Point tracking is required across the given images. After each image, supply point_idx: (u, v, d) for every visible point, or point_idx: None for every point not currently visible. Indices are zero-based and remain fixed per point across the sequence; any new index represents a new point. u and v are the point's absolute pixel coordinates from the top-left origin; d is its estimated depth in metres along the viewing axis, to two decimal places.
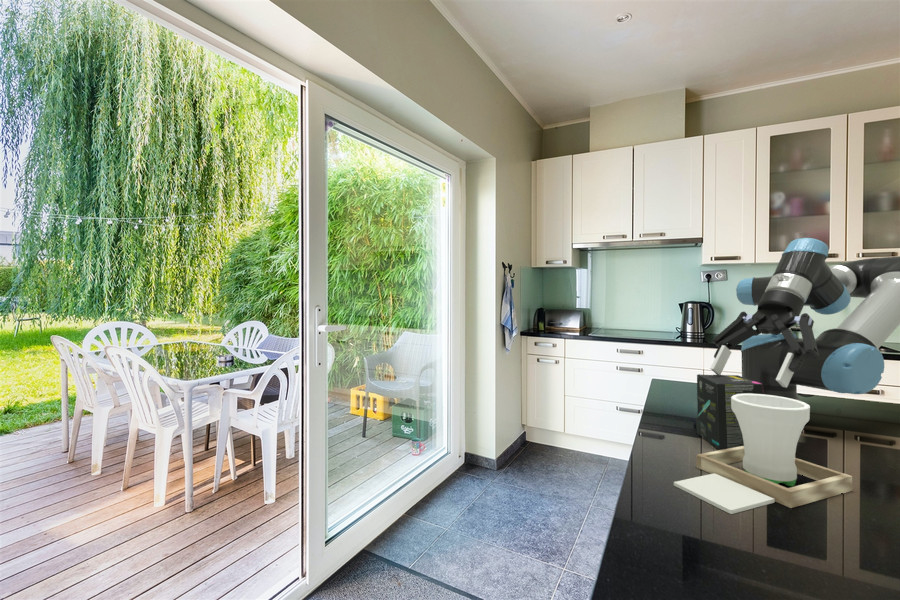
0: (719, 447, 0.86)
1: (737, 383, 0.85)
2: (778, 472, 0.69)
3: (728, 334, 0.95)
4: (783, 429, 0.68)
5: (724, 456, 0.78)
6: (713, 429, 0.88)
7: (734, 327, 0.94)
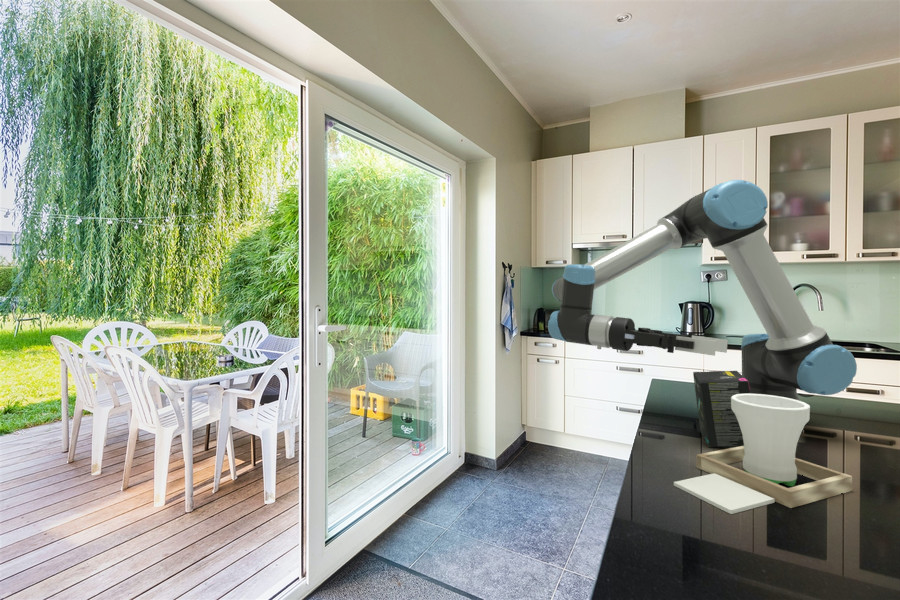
0: (709, 444, 0.87)
1: (721, 381, 0.86)
2: (778, 472, 0.69)
3: None
4: (783, 429, 0.68)
5: (724, 456, 0.78)
6: (704, 427, 0.89)
7: None
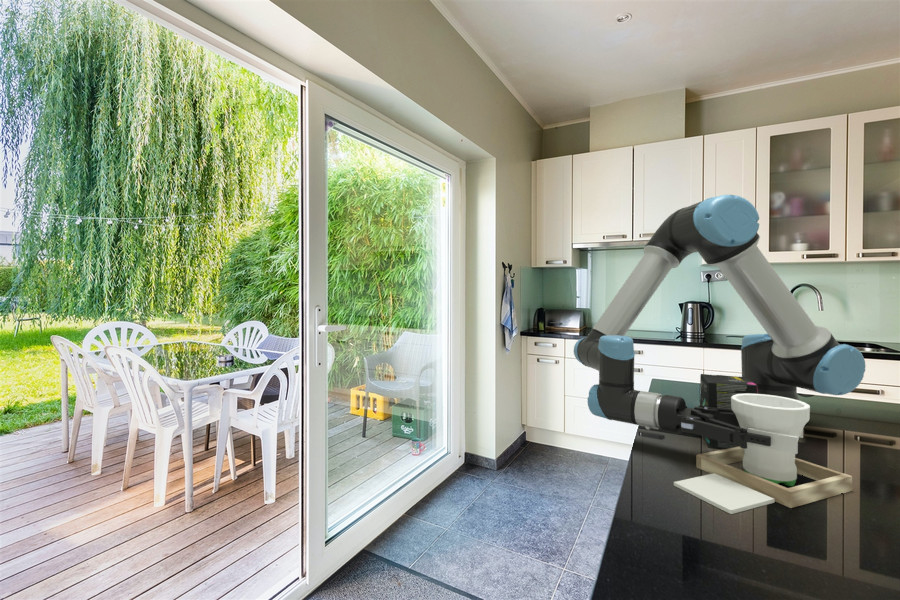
0: (709, 445, 0.87)
1: (730, 383, 0.86)
2: (778, 472, 0.69)
3: None
4: (783, 429, 0.68)
5: (724, 456, 0.78)
6: None
7: None
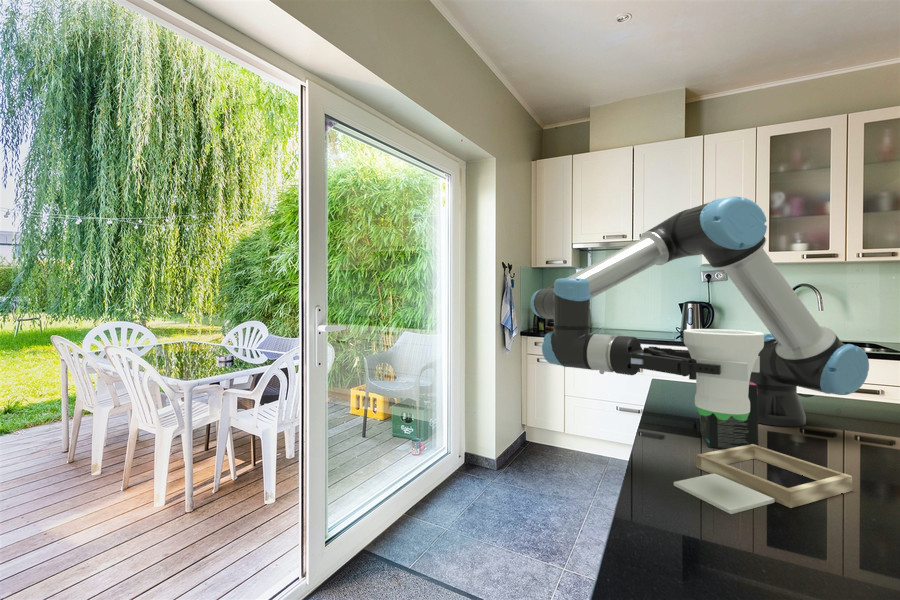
0: (709, 445, 0.87)
1: None
2: (729, 404, 0.64)
3: None
4: (734, 357, 0.63)
5: (724, 456, 0.78)
6: (706, 428, 0.89)
7: None
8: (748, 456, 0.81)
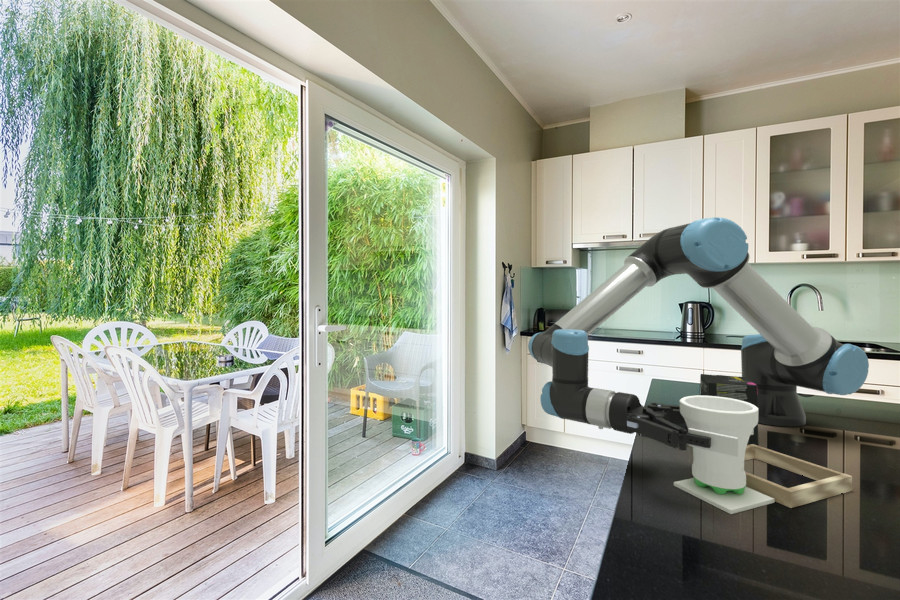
0: None
1: (730, 383, 0.86)
2: (725, 479, 0.65)
3: None
4: (730, 434, 0.64)
5: None
6: None
7: None
8: (748, 456, 0.81)
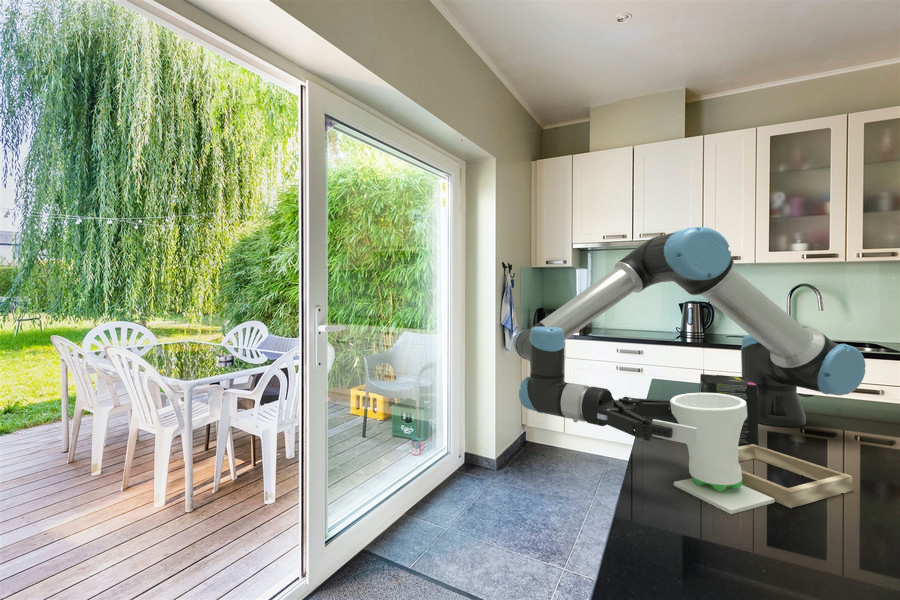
0: None
1: (730, 383, 0.86)
2: (724, 475, 0.65)
3: None
4: (724, 430, 0.64)
5: None
6: None
7: None
8: (748, 456, 0.81)
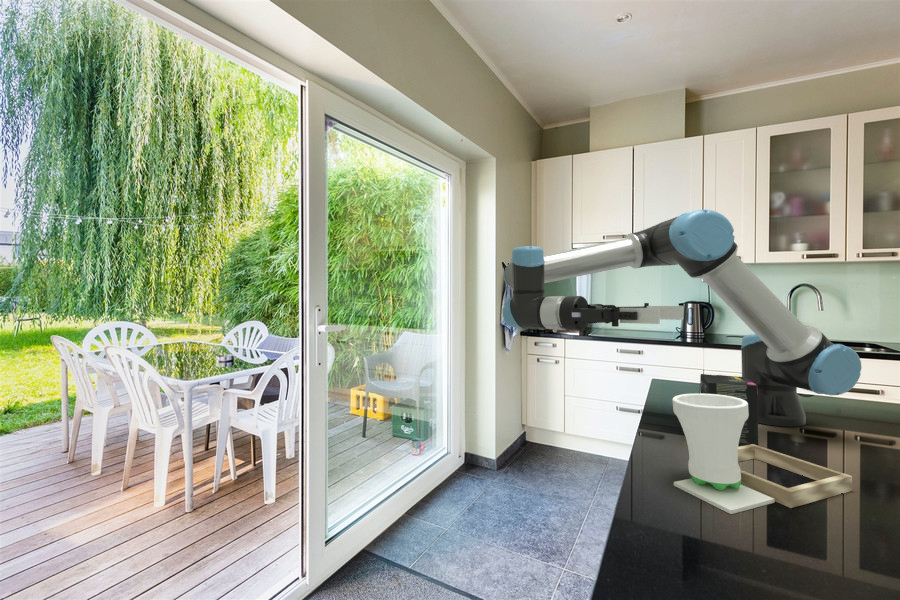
0: None
1: (730, 383, 0.86)
2: (725, 474, 0.66)
3: None
4: (727, 429, 0.65)
5: None
6: None
7: None
8: (748, 456, 0.81)
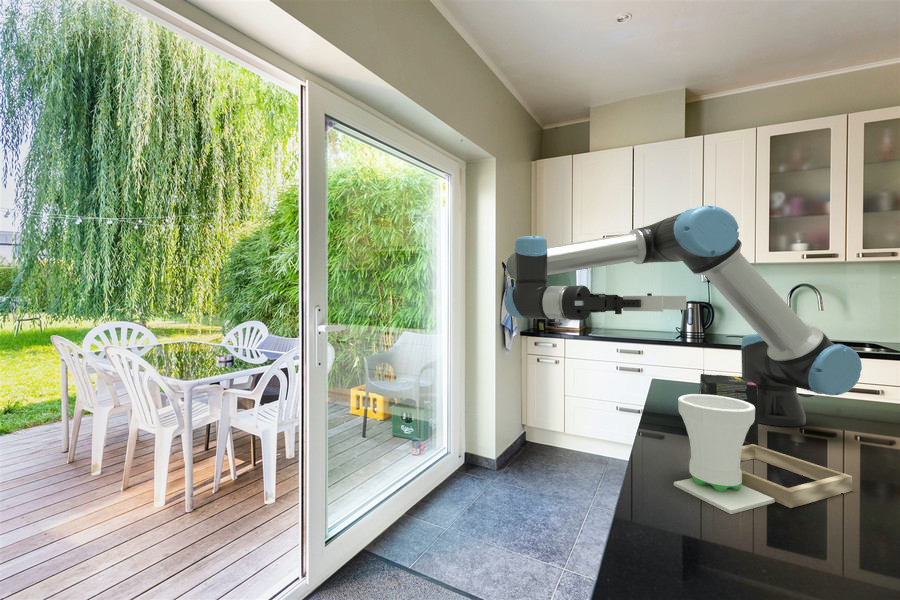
0: None
1: (730, 383, 0.86)
2: (726, 476, 0.66)
3: None
4: (732, 432, 0.65)
5: None
6: None
7: None
8: (748, 456, 0.81)
